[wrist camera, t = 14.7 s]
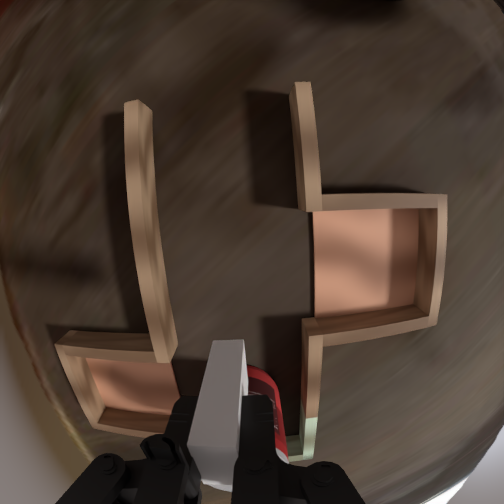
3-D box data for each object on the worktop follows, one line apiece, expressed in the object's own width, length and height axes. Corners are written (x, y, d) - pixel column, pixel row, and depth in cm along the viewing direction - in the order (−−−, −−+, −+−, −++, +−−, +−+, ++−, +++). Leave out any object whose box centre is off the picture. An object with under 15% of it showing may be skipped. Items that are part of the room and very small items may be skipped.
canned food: (227, 422, 28) (221, 497, 17) (192, 375, 27) (170, 454, 16) (289, 403, 28) (303, 481, 17) (260, 351, 26) (266, 435, 15)
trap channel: (43, 142, 21) (22, 139, 18) (416, 107, 21) (436, 98, 18) (114, 434, 29) (106, 451, 26) (393, 420, 29) (402, 436, 26)
